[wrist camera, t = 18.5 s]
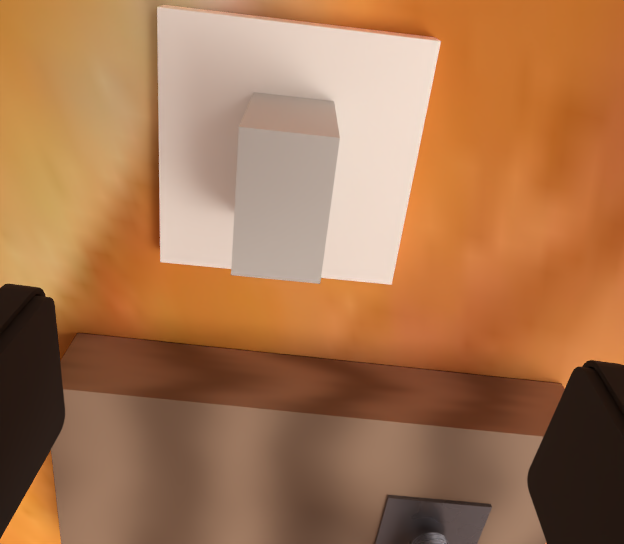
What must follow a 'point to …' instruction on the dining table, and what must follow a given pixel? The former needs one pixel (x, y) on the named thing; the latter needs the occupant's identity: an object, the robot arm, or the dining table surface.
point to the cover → (287, 143)
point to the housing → (289, 449)
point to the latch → (430, 539)
